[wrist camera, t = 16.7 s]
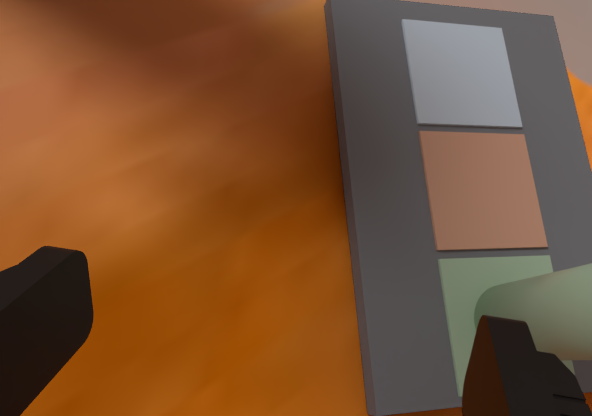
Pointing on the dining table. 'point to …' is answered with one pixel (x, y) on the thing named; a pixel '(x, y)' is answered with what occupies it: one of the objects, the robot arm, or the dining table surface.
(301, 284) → the dining table surface
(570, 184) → the picture board
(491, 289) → the green bottle grey cap
